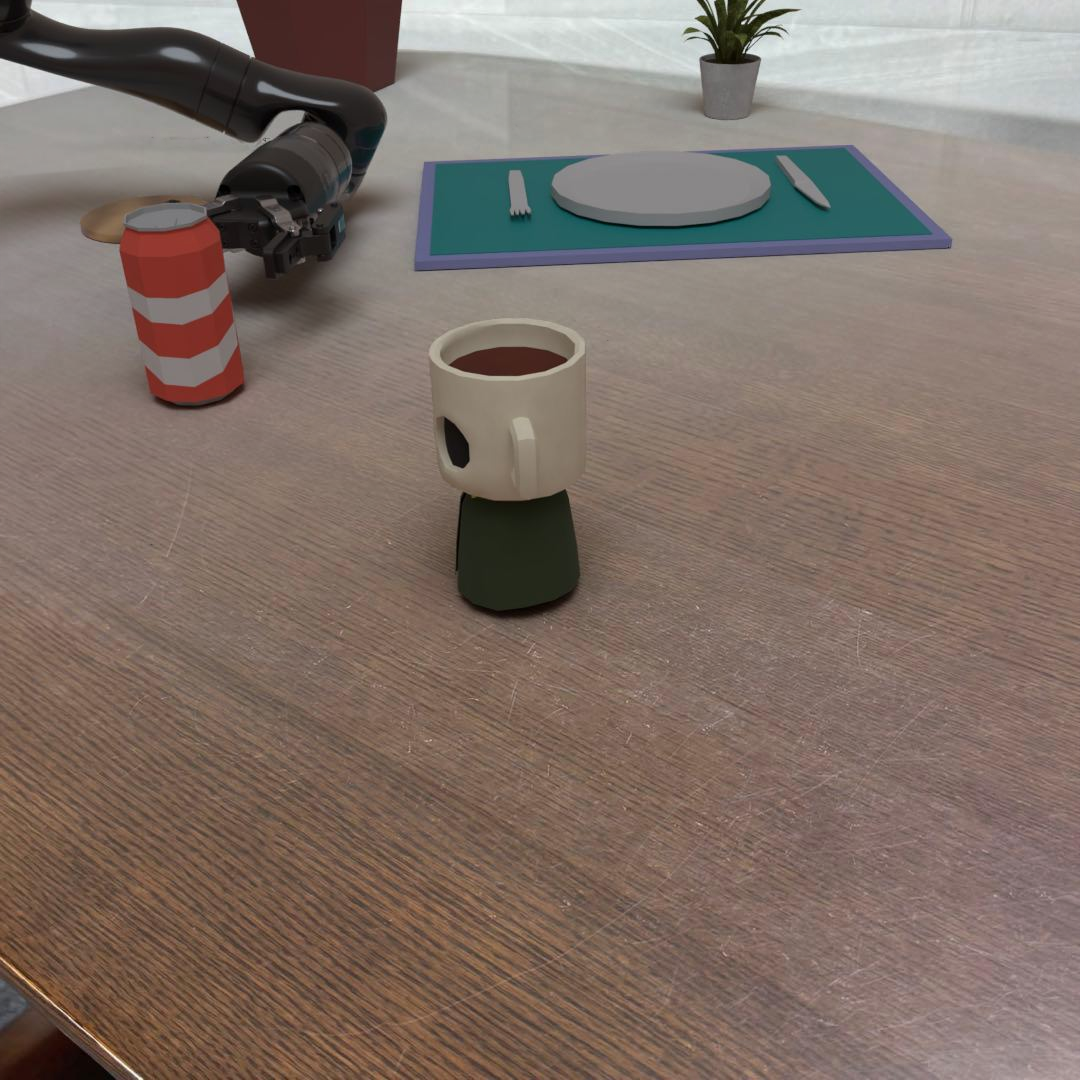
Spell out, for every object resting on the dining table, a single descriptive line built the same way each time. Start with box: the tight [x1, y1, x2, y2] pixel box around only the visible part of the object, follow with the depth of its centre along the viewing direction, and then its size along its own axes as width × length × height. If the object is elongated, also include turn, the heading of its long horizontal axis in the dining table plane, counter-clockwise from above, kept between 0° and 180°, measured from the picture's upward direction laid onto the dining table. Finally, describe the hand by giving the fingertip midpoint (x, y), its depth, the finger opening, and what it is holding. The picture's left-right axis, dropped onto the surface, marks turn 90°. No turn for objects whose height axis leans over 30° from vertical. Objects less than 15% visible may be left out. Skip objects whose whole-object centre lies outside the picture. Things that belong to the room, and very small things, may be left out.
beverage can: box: [118, 203, 245, 407], centre depth 78 cm, size 6×6×12 cm
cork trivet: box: [79, 194, 210, 244], centre depth 112 cm, size 12×12×1 cm
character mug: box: [428, 317, 587, 612], centre depth 57 cm, size 11×7×13 cm, turn 9°
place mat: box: [413, 144, 953, 271], centre depth 112 cm, size 45×30×2 cm
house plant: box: [681, 0, 803, 121], centre depth 136 cm, size 14×14×16 cm
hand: (208, 264), depth 82 cm, fingers open, 8 cm apart
